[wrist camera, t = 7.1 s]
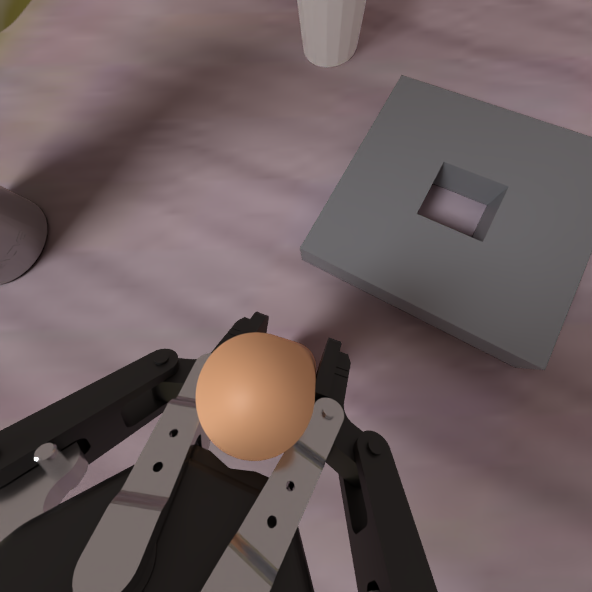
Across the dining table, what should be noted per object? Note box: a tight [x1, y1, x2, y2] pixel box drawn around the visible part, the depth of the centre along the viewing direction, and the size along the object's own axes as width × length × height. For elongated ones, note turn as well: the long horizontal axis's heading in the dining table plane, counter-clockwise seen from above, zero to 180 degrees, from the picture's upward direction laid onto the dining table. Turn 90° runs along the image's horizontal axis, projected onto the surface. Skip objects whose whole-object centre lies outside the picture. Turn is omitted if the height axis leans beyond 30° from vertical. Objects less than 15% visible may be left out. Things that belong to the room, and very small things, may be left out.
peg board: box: [300, 75, 592, 370], centre depth 20 cm, size 18×18×2 cm
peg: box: [196, 332, 316, 461], centre depth 13 cm, size 4×4×11 cm
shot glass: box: [297, 0, 366, 68], centre depth 23 cm, size 7×7×7 cm
